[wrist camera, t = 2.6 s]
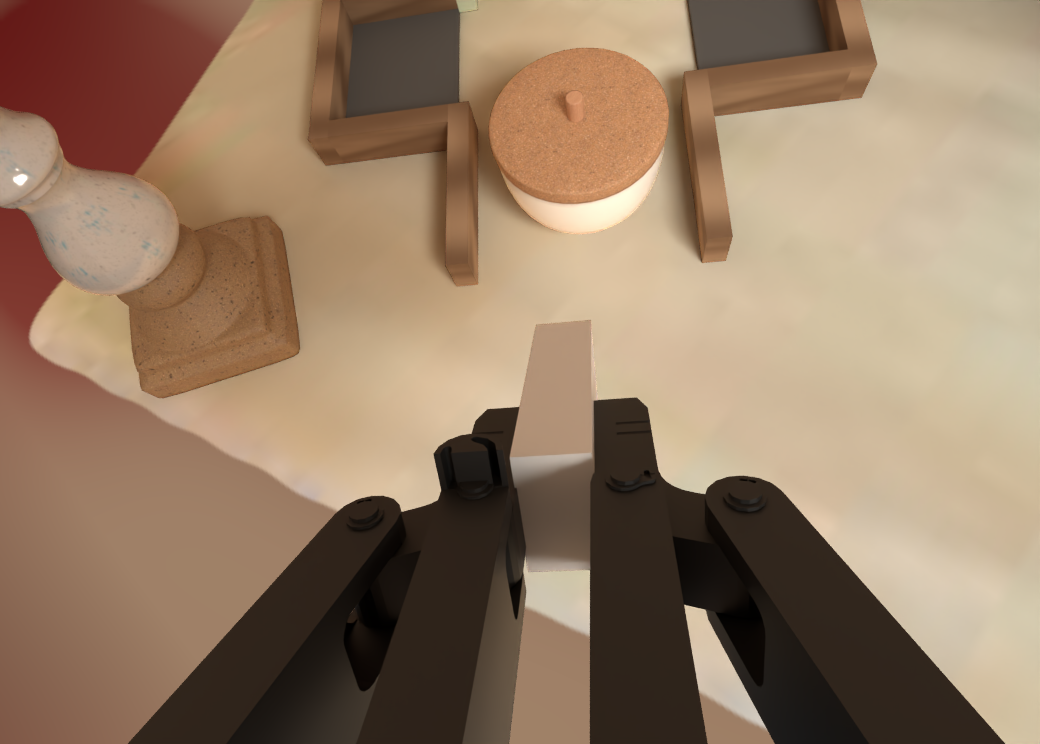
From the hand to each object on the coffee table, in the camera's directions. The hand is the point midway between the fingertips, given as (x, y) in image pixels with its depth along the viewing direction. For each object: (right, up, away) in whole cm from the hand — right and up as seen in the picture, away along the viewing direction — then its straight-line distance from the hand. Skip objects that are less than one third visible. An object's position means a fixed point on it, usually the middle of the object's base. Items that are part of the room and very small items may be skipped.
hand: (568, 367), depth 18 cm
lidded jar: (+3, +12, +28) cm, 31 cm away
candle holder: (-23, +4, +29) cm, 38 cm away
